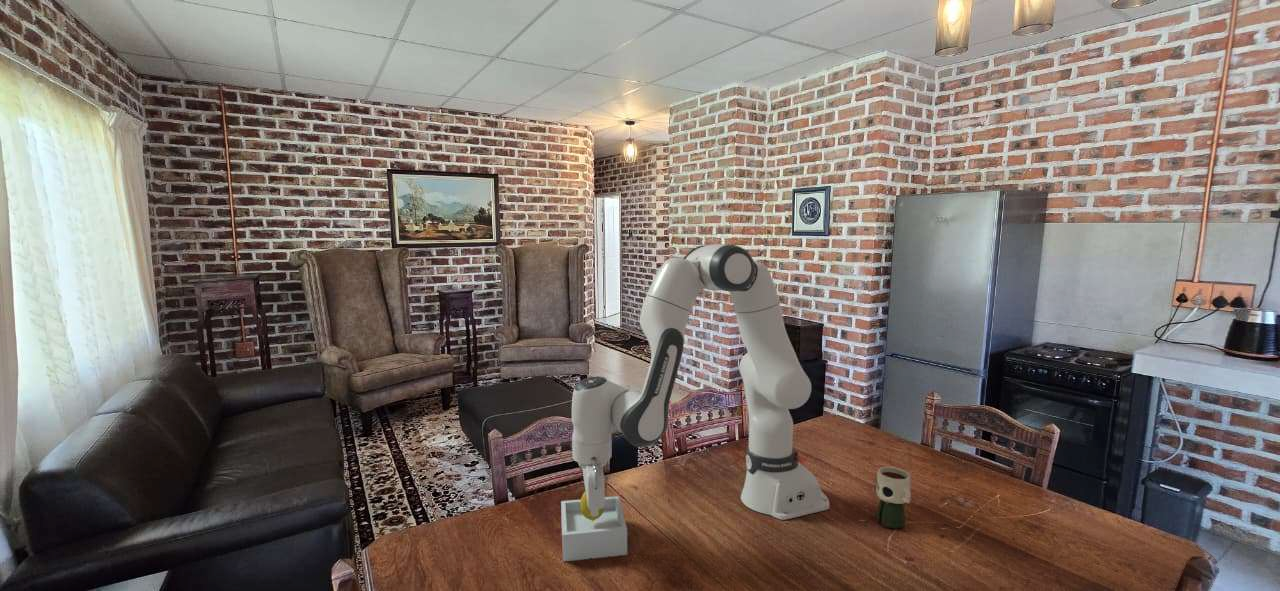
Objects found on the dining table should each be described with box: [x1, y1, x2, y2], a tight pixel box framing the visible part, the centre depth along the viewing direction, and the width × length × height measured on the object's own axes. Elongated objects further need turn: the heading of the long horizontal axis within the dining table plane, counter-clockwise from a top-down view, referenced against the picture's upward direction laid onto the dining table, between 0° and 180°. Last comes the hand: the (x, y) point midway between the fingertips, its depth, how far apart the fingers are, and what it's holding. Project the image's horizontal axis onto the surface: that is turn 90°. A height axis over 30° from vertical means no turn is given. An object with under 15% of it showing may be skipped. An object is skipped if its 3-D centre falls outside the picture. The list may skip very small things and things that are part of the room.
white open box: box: [560, 495, 628, 562], centre depth 120 cm, size 14×14×6 cm
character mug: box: [875, 466, 912, 529], centre depth 126 cm, size 11×7×13 cm, turn 14°
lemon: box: [580, 490, 605, 521], centre depth 120 cm, size 6×6×8 cm
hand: (593, 506), depth 120 cm, fingers closed on lemon, 5 cm apart
